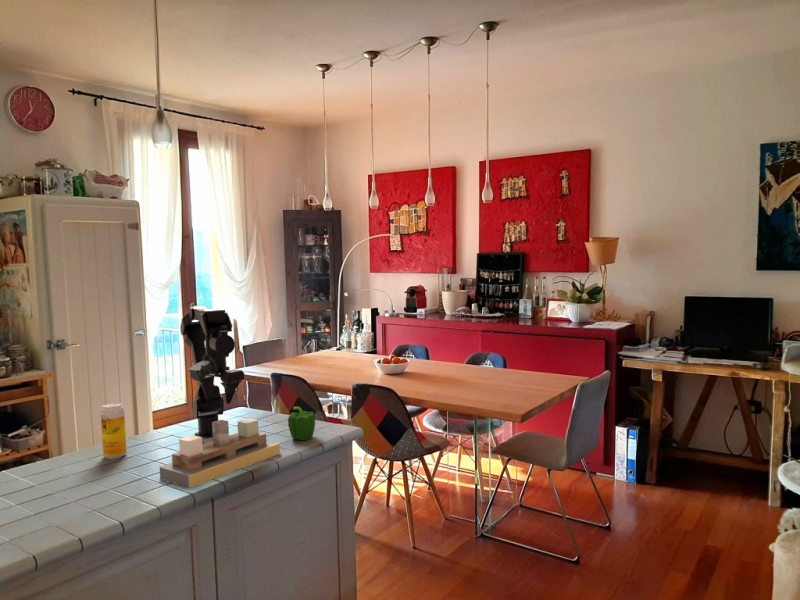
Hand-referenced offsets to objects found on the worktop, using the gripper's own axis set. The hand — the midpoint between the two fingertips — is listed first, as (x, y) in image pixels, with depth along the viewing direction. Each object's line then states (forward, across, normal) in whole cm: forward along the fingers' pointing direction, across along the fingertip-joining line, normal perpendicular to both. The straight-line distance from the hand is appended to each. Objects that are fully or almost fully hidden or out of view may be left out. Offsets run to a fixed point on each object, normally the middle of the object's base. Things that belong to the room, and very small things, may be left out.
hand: (218, 402), depth 182 cm
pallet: (+10, +16, -12) cm, 22 cm away
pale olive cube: (+7, +16, -2) cm, 18 cm away
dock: (+13, +16, -12) cm, 24 cm away
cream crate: (+7, +16, -22) cm, 28 cm away
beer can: (+13, -18, -23) cm, 32 cm away
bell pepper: (+13, +18, +17) cm, 28 cm away
